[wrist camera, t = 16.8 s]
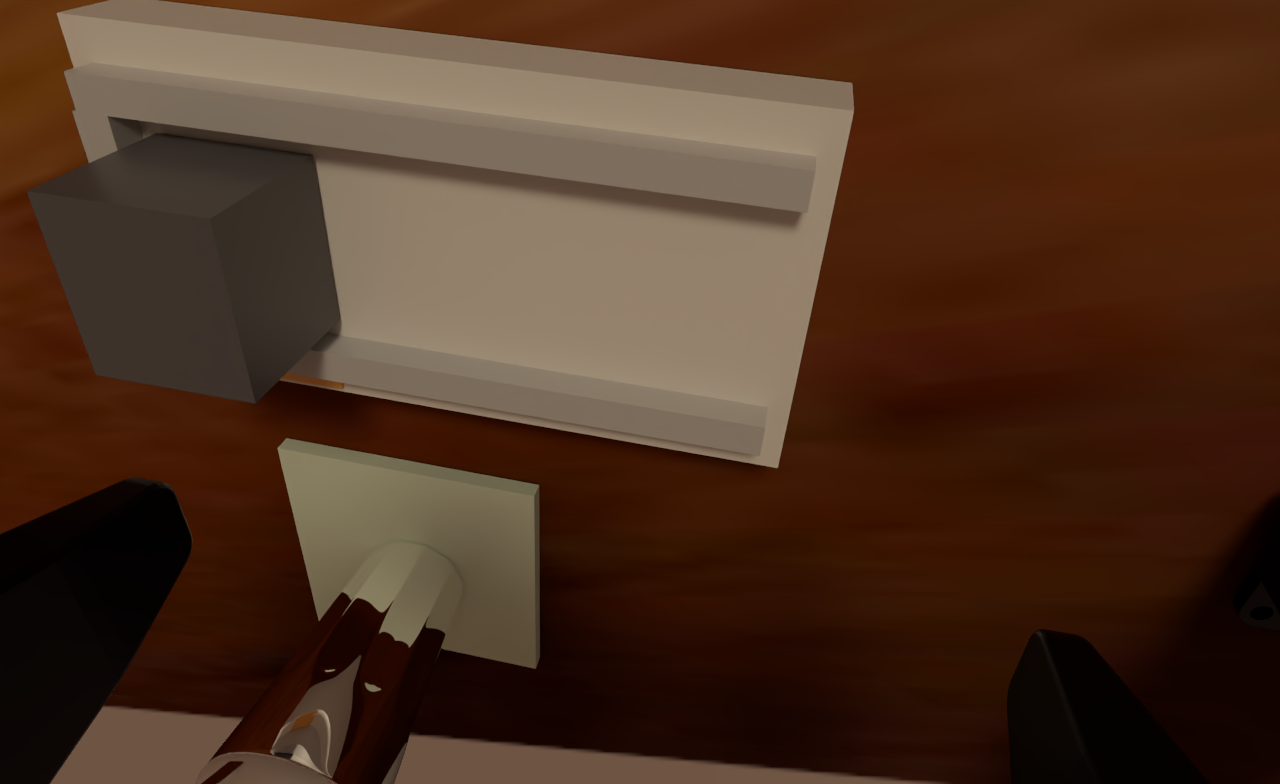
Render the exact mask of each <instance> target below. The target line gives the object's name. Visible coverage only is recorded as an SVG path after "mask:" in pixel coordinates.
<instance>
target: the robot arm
mask: <svg viewBox="0 0 1280 784" xmlns="http://www.w3.org/2000/svg"><path fill="white" fill-rule="evenodd" d="M191 549H192V535H191V532H190V529H189V527H188V524H187V522H186V519H185V517H184V514H183V512H182V509H181V506H180V504H179V501H178V499H177V496H176V494H175V492H174V490H173V489H172V487H170V486H169V485H168V484H166V483H164V482H159V481H153V480H147V479H141V478H130V479H126V480H123V481H121V482H118V483H116V484H114V485H111V486H109V487H107V488H105V489H102V490H100V491H98V492H95V493H93V494H91V495H89V496H86V497H84V498H82V499H79V500H77V501H75V502H73V503H70V504H68V505H66V506H63V507H61V508H59V509H57V510H54V511H52V512H50V513H47V514H45V515H43V516H41V517H38V518H36V519H34V520H31V521H29V522H27V523H25V524H22V525H20V526H18V527H15V528H13V529H11V530H9V531H6V532H4V533H2V534H0V784H50V783H51V781H52V780H53V779H54V777H55V776H56V774H57V773H58V771H59V770H60V768H61V767H62V765H63V764H64V762H65V761H66V760H67V758H68V757H69V755H70V754H71V752H72V751H73V749H74V748H75V746H76V745H77V743H78V742H79V741H80V739H81V738H82V736H83V735H84V733H85V732H86V730H87V729H88V728H89V726H90V724H91V723H92V721H93V720H94V719H95V717H96V716H97V714H98V713H99V712H100V710H101V709H102V707H103V706H104V704H105V703H106V701H107V700H108V698H109V697H110V695H111V694H112V692H113V691H114V689H115V688H116V686H117V684H118V683H119V681H120V680H121V678H122V676H123V675H124V673H125V671H126V670H127V668H128V666H129V664H130V663H131V661H132V659H133V658H134V656H135V654H136V652H137V650H138V649H139V647H140V645H141V643H142V641H143V640H144V638H145V636H146V634H147V632H148V631H149V629H150V627H151V625H152V623H153V622H154V620H155V618H156V616H157V614H158V613H159V611H160V609H161V607H162V605H163V604H164V602H165V600H166V598H167V596H168V595H169V593H170V591H171V589H172V587H173V586H174V584H175V582H176V580H177V578H178V577H179V575H180V573H181V571H182V569H183V568H184V566H185V564H186V562H187V560H188V558H189V556H190V553H191ZM1233 605H1234V608H1235V610H1236V612H1237V614H1238V616H1239V618H1240V620H1241V621H1243V622H1244V623H1245V624H1248V625H1251V626H1255V627H1260V628H1266V629H1271V630H1276V631H1280V534H1279V536H1278V537H1277V539H1276V540H1275V541H1274V543H1273V544H1272V546H1271V547H1270V548H1269V550H1268V551H1267V553H1266V554H1265V555H1264V557H1263V558H1262V560H1261V561H1260V562H1259V564H1258V565H1257V566H1256V568H1255V570H1254V571H1253V573H1252V574H1251V575H1250V577H1249V578H1248V580H1247V581H1246V582H1245V584H1244V585H1243V587H1242V588H1241V589H1240V591H1239V592H1238V593H1237V595H1236V596H1235V598H1234V601H1233ZM1260 606H1261V607H1260ZM1257 607H1258V608H1257ZM1007 715H1008V732H1009V749H1010V766H1011V783H1012V784H1210V783H1209V782H1208V781H1207V780H1206V779H1205V778H1204V776H1203V775H1202V774H1201V773H1200V772H1199V770H1198V769H1197V768H1196V767H1195V766H1194V765H1193V763H1192V762H1191V761H1190V760H1189V759H1188V757H1187V756H1186V755H1185V754H1184V753H1183V752H1182V750H1181V749H1180V748H1179V747H1178V746H1177V745H1176V743H1175V742H1174V741H1173V740H1172V739H1171V737H1170V736H1169V735H1168V734H1167V733H1166V732H1165V730H1164V729H1163V728H1162V727H1161V726H1160V725H1159V723H1158V722H1157V721H1156V720H1155V719H1154V717H1153V716H1152V715H1151V714H1150V713H1149V712H1148V710H1147V709H1146V708H1145V707H1144V706H1143V705H1142V703H1141V702H1140V701H1139V700H1138V699H1137V697H1136V696H1135V695H1134V694H1133V693H1132V692H1131V690H1130V689H1129V688H1128V687H1127V686H1126V684H1125V683H1124V682H1123V681H1122V680H1121V679H1120V677H1119V676H1118V675H1117V674H1116V673H1115V672H1114V670H1113V669H1112V668H1111V667H1110V666H1109V664H1108V663H1107V662H1106V661H1105V660H1104V659H1103V657H1102V656H1101V655H1100V654H1099V653H1098V652H1097V650H1096V649H1095V648H1094V647H1093V646H1092V645H1091V644H1090V642H1088V641H1087V640H1086V639H1085V638H1083V637H1081V636H1079V635H1075V634H1069V633H1063V632H1057V631H1051V630H1045V629H1042V630H1037V631H1035V632H1034V633H1033V634H1032V636H1031V637H1030V639H1029V641H1028V643H1027V646H1026V648H1025V650H1024V652H1023V655H1022V657H1021V659H1020V661H1019V664H1018V666H1017V668H1016V670H1015V673H1014V675H1013V677H1012V679H1011V682H1010V685H1009V689H1008V696H1007Z"/></svg>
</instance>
